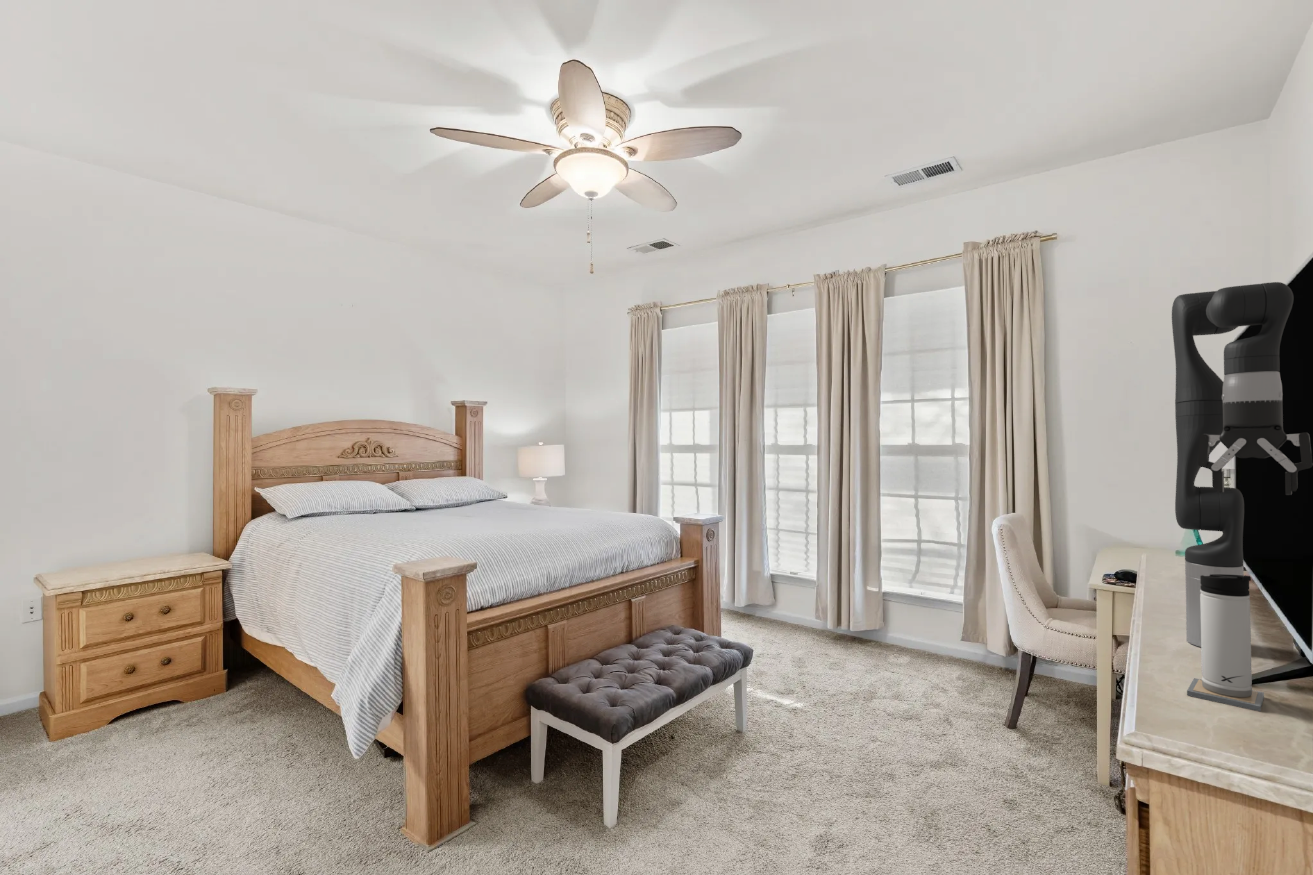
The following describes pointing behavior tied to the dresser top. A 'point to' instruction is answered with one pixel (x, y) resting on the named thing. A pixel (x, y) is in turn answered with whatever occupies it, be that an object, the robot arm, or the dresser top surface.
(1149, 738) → the dresser top surface
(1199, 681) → the slate coaster
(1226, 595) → the travel mug
